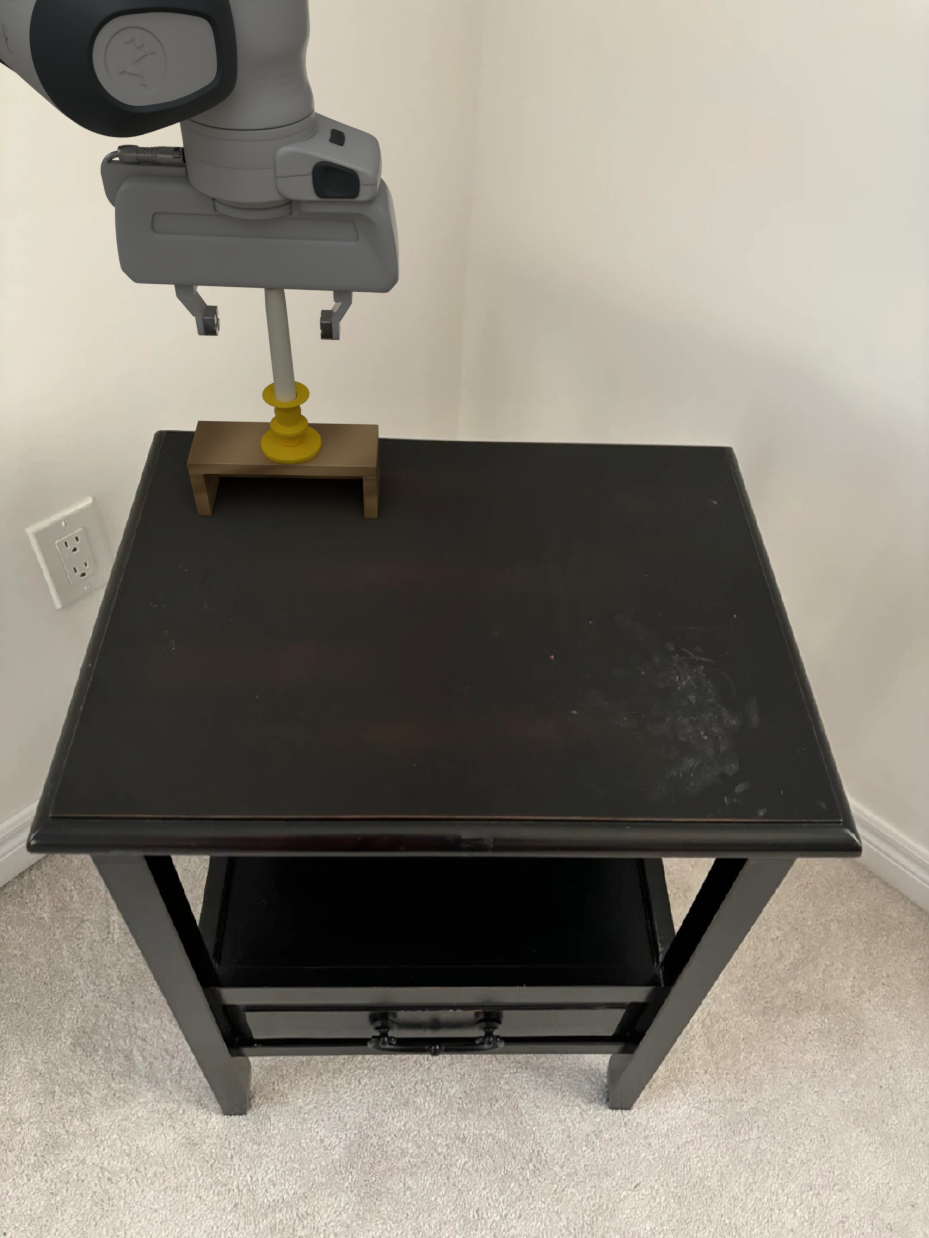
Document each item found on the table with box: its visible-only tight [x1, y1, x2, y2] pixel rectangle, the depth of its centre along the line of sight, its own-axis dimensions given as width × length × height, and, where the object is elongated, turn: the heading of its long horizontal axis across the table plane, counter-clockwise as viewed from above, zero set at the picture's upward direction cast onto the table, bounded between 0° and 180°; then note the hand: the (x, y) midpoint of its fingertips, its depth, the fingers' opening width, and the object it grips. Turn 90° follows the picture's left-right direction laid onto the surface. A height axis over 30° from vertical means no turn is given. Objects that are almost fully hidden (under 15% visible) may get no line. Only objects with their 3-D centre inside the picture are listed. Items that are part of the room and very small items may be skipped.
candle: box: [260, 288, 322, 464], centre depth 75 cm, size 5×5×16 cm
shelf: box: [186, 420, 381, 520], centre depth 83 cm, size 16×6×6 cm, turn 92°
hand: (270, 334), depth 73 cm, fingers open, 8 cm apart
